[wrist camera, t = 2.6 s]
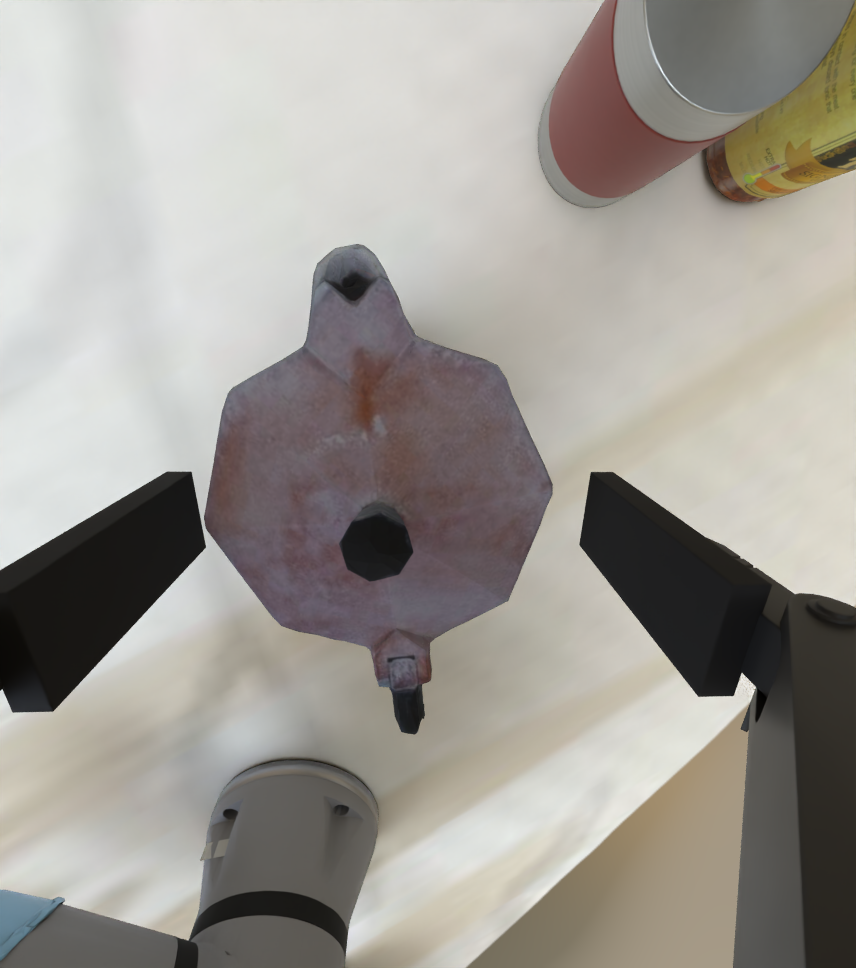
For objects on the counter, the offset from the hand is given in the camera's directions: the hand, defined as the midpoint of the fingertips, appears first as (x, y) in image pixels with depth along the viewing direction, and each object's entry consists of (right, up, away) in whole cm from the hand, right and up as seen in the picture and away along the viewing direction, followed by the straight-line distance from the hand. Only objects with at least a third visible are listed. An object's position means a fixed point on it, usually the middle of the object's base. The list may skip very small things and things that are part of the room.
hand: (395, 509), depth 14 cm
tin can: (+10, +20, +9) cm, 24 cm away
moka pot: (-1, +5, +14) cm, 15 cm away
